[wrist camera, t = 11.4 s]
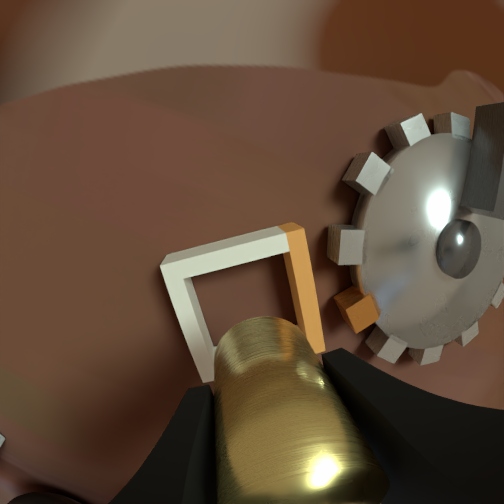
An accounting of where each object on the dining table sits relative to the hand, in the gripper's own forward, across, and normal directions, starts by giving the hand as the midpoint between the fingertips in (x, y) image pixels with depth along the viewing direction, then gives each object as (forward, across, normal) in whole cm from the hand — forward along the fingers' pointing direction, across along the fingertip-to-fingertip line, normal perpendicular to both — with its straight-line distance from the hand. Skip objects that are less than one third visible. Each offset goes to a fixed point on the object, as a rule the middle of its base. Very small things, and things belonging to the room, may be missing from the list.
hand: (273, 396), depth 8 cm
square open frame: (+9, 0, 0) cm, 9 cm away
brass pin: (+2, 0, 0) cm, 2 cm away
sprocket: (+9, -13, 0) cm, 16 cm away
